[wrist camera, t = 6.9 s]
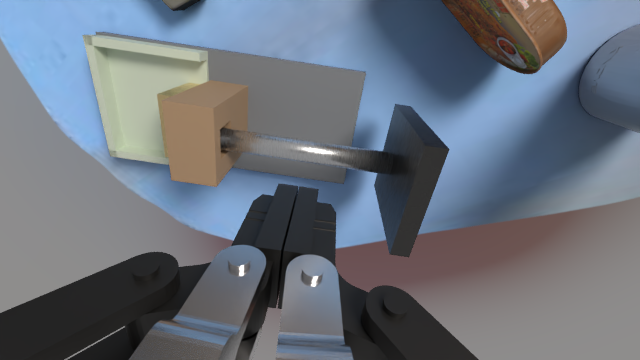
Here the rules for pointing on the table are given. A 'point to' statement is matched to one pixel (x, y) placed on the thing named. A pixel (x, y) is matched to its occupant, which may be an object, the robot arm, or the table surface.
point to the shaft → (370, 168)
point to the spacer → (161, 97)
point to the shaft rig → (217, 105)
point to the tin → (513, 30)
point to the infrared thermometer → (179, 4)
